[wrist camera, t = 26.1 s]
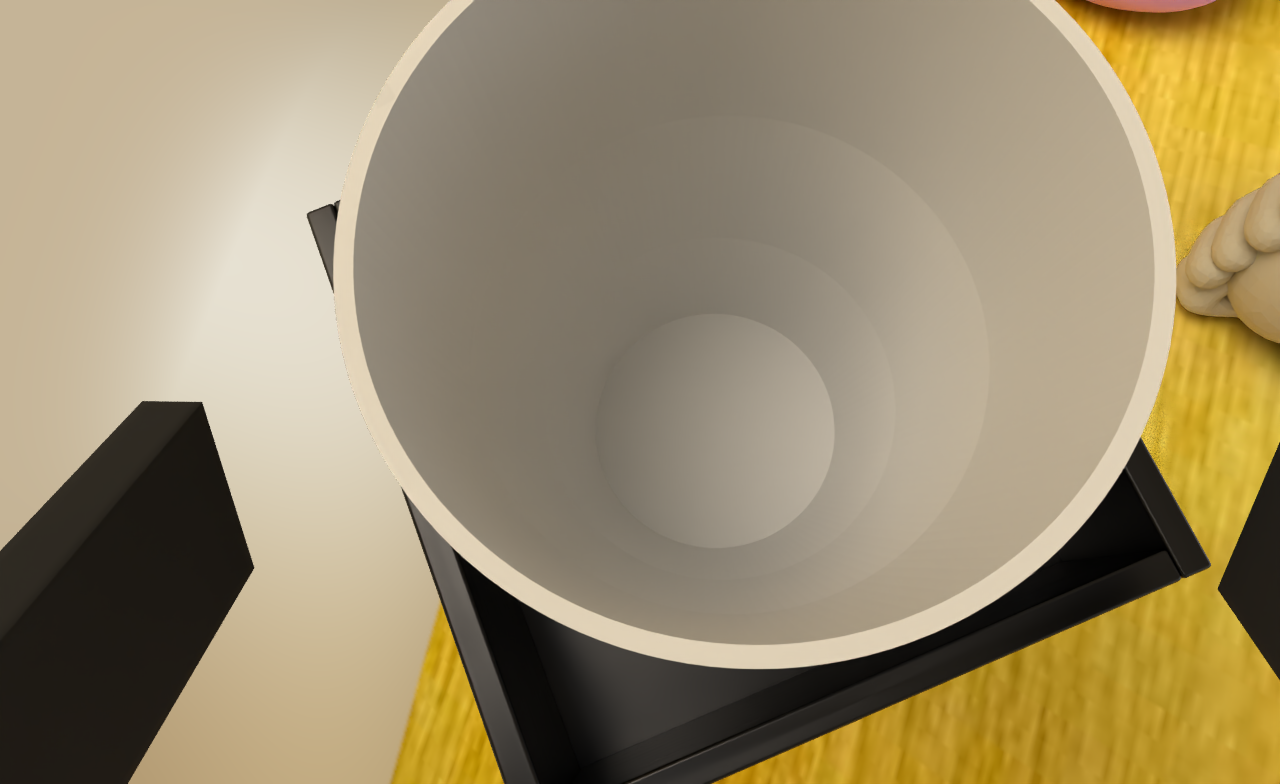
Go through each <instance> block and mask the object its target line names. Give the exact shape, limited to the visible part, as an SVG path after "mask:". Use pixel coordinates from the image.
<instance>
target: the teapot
mask: <svg viewBox="0 0 1280 784" xmlns="http://www.w3.org/2000/svg"><path fill="white" fill-rule="evenodd" d="M1086 1H1089V2H1092V3H1095V4H1098V5H1102V6H1106V7H1110V8H1115V9H1121V10H1128V11H1137V12H1176V11H1183V10H1188V9H1192V8H1196V7H1200V6H1204V5H1207V4H1209V3H1211V2H1214V1H1216V0H1086Z"/></svg>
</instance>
